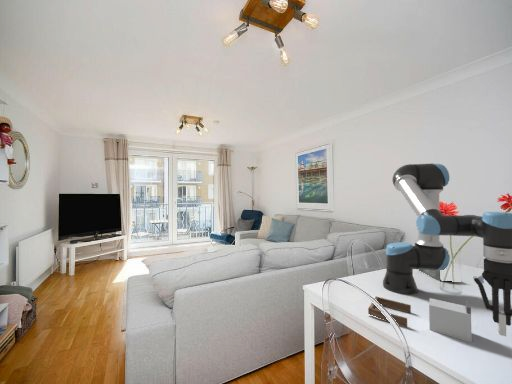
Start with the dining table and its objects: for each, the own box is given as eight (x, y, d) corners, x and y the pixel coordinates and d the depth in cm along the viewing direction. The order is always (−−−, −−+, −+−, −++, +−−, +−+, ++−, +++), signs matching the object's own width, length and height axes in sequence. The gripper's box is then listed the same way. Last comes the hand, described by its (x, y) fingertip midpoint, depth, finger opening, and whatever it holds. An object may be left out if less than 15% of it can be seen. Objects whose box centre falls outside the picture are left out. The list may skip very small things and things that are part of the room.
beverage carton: (431, 271, 145) (431, 261, 145) (456, 282, 126) (455, 270, 126) (418, 271, 146) (418, 260, 146) (441, 282, 126) (441, 270, 127)
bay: (375, 303, 102) (375, 296, 102) (410, 312, 94) (410, 305, 94) (368, 315, 91) (368, 308, 91) (407, 327, 83) (406, 319, 83)
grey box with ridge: (430, 321, 87) (429, 292, 87) (469, 332, 80) (468, 301, 80) (429, 330, 81) (429, 299, 82) (471, 342, 74) (470, 308, 75)
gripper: (473, 258, 74) (475, 331, 74) (535, 266, 66) (537, 348, 66) (471, 254, 80) (472, 321, 80) (527, 260, 72) (529, 335, 71)
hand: (501, 333), depth 73 cm, fingers closed
